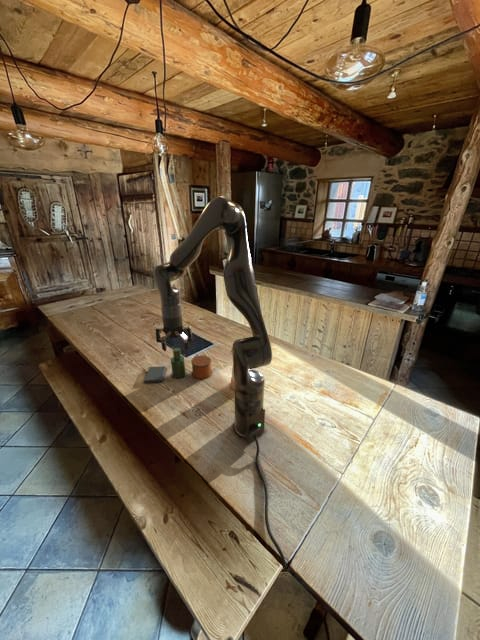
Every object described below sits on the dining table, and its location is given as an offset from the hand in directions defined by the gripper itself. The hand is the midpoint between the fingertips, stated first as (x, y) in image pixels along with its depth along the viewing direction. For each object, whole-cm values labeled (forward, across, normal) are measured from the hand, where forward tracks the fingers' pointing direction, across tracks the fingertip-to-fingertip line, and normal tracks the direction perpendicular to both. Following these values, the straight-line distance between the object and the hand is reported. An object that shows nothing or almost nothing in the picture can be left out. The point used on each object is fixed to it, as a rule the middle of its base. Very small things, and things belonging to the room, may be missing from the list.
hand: (175, 350), depth 111 cm
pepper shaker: (+13, +26, -9) cm, 30 cm away
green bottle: (+12, 0, 0) cm, 12 cm away
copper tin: (+12, +10, 0) cm, 16 cm away
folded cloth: (+12, -10, 0) cm, 16 cm away
